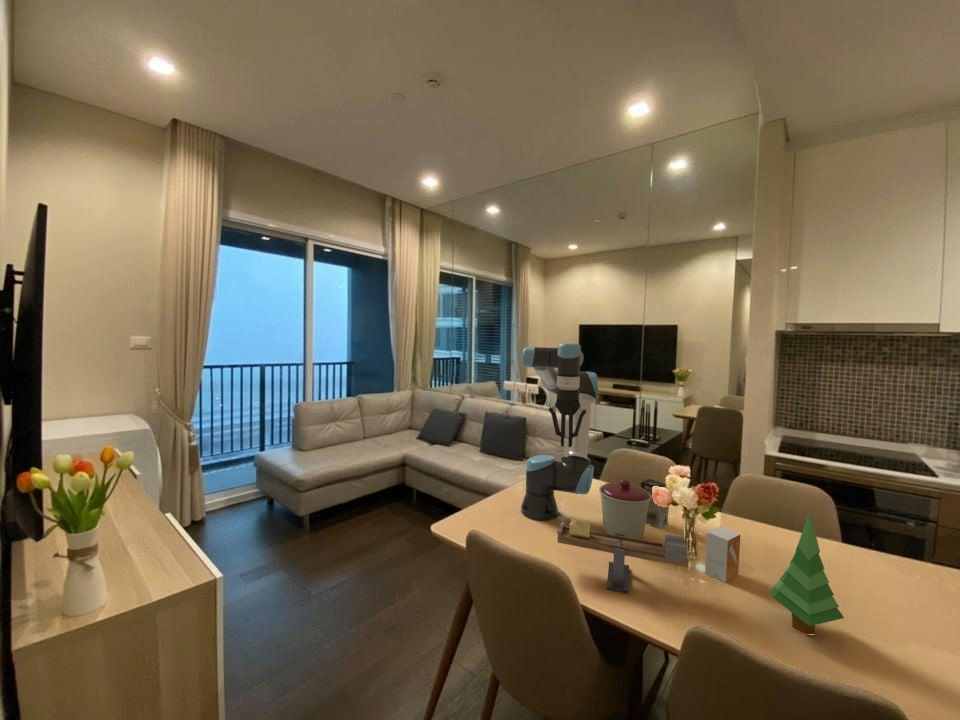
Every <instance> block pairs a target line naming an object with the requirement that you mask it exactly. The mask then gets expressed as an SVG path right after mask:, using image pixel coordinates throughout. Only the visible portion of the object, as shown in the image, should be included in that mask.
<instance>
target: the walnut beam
mask: <svg viewBox="0 0 960 720" xmlns="http://www.w3.org/2000/svg"><path fill="white" fill-rule="evenodd" d="M569 529H570V526H566V525H565V521H561V522H560V524H559V527H558V530H557V538H556V539H557V542H556V543H558V544H564V545H568V546H572V547H573V546H575V547H578V548H583V549H589V550H593V551H594V550H595V551H600V552H605V553H609V554H614V547H615V548H620V549H625V557H630V558H631V557H632V558H635V559H641V560H647V561H652V562H657V563H662V564H667V565H671V566H679V567H684V568H689V560H688V555H687V553H688V552H687V551H688V547H687V543H686V540H685V536H684V535H677V534H672V533H664V544H663V542H657V541H651V540H646V539H645V540H644V539H635V538H629V537H623V536H618V535H612V534H607V533H606V532H605V533H604V532H601V531H593V530H591V536H590V540H585V539H579V538H574V537H569ZM663 545H664V546H663Z"/></svg>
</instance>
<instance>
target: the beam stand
mask: <svg viewBox="0 0 960 720" xmlns="http://www.w3.org/2000/svg"><path fill="white" fill-rule="evenodd" d="M615 535H618V536H623V537H625V534H623V533H617V532H615ZM625 557H626V556H625V549H620V548H615V547H614V553H613V561H608V572H607V579H606V580H607V581H606V582H607V583H606V590H607V591H612V592H616V593H619V594H620V593H621V594H624V595H630V565H628V564H625V560H626V559H625Z"/></svg>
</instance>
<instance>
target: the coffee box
mask: <svg viewBox="0 0 960 720" xmlns="http://www.w3.org/2000/svg"><path fill="white" fill-rule="evenodd" d="M653 486H659V487H665V483H663V482H660V481H658V480H655V479H651V478H647V479H645V480H642V481H641V482H640V487H642V488H644V489H645V490H646V491H648V492H649V493H650V494H651V496H652V487H653ZM669 507H670V506H669ZM669 507H662V506H658V505H657V504H655V503H654V501H653V498H651V500H650V501H649V506H648V512H647V518H646V524H647V525H648V524H649V526H651V527H652V528H655V529H657V528H658V530H661V529H663V528H665V527H667V526H669V524H668V523H669ZM646 524H645V525H646ZM666 525H667V526H666ZM664 526H665V527H664ZM662 527H663V528H662ZM660 528H661V529H660Z"/></svg>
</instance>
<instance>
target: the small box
mask: <svg viewBox="0 0 960 720" xmlns="http://www.w3.org/2000/svg"><path fill="white" fill-rule="evenodd" d="M741 535H742V534H740V533H738V532H736V531H733V530H731V529H728V528H726V527H723V526H718V527H716V528H713V529H711V530H709V531H707V533H706V548H705V549H706V550H705V564H704V565H705V566H704V572H705V574H707V575H710V576H711V577H713V578H715V579H718V580H719V581H722V582H724V583H727V582H728V581H730V580H731V579H733V578H735V577H736V576H738V575H739V569H740V568H739V567H740V566H739V565H740V564H739V563H740V550H741V549H740V547H741Z"/></svg>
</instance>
